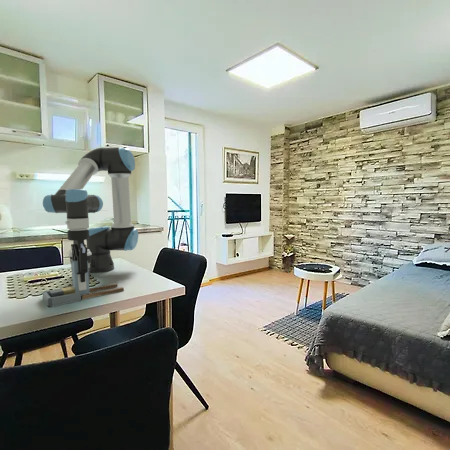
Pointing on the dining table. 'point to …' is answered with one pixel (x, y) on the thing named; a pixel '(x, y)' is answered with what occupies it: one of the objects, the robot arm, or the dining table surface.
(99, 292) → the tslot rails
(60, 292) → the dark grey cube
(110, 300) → the dining table surface
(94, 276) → the dining table surface
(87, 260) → the coffee cup
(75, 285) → the blue grey rectangular box
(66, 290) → the chip brass
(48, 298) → the tray
